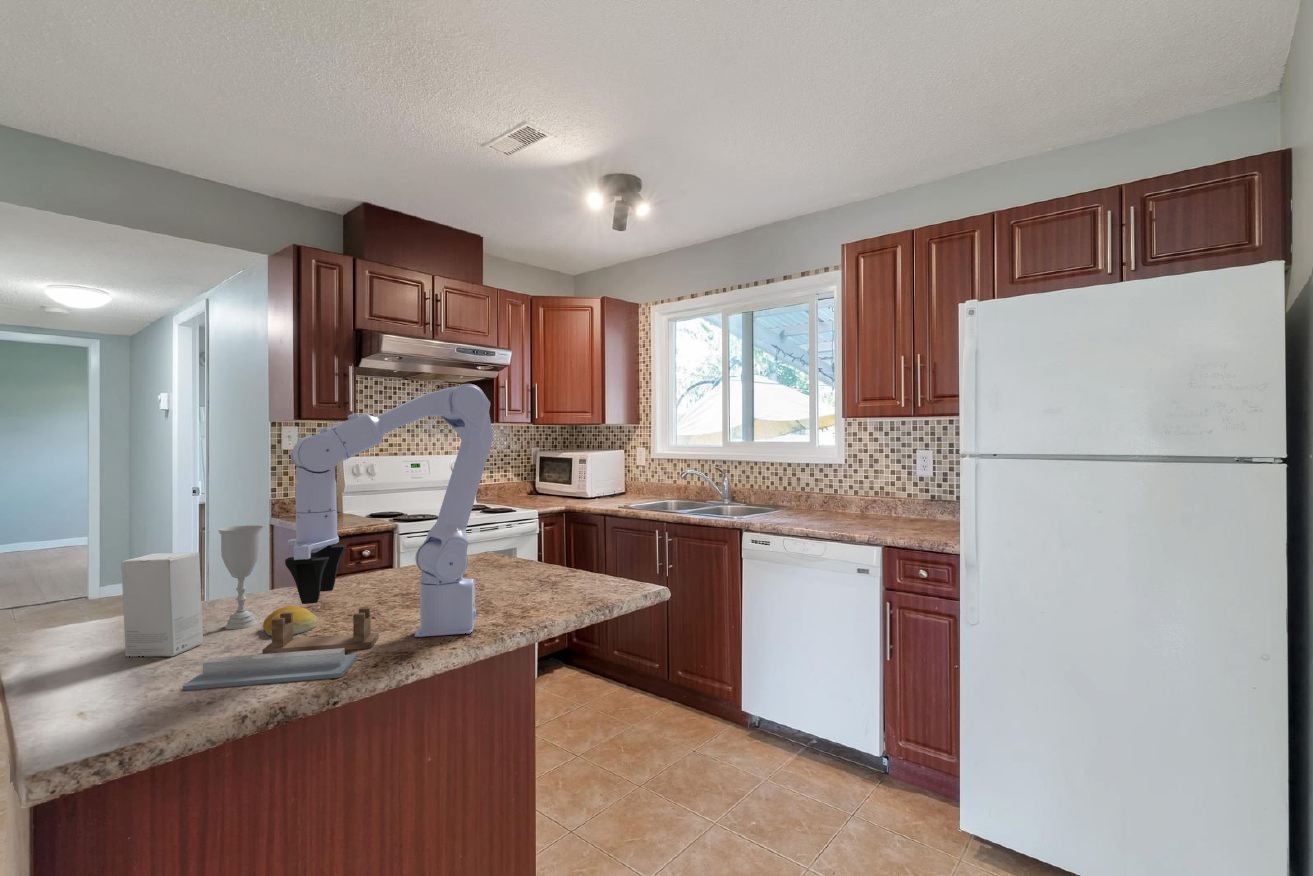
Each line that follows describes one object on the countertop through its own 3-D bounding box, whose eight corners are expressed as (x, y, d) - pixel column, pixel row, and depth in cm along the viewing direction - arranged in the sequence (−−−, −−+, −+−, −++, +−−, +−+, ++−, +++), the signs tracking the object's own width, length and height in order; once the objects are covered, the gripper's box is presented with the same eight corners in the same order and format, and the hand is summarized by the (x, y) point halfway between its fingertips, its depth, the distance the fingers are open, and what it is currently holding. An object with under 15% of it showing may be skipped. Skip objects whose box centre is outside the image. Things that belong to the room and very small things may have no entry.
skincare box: (204, 644, 102) (203, 551, 102) (170, 658, 96) (169, 559, 96) (156, 644, 103) (156, 551, 103) (120, 658, 96) (119, 559, 96)
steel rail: (344, 661, 92) (344, 648, 92) (340, 666, 90) (340, 652, 90) (209, 671, 88) (209, 658, 88) (202, 677, 86) (202, 662, 86)
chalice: (209, 628, 111) (208, 529, 111) (246, 618, 118) (245, 524, 118) (235, 632, 109) (235, 531, 109) (272, 621, 115) (271, 526, 115)
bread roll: (268, 641, 104) (268, 618, 104) (260, 629, 111) (260, 607, 111) (322, 631, 110) (322, 608, 110) (311, 620, 117) (311, 599, 117)
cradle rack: (378, 638, 104) (378, 606, 105) (371, 648, 100) (371, 614, 100) (275, 645, 101) (275, 612, 101) (262, 656, 96) (262, 621, 96)
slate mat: (357, 658, 95) (357, 654, 95) (341, 677, 87) (341, 673, 87) (212, 669, 91) (212, 665, 91) (182, 690, 83) (182, 686, 83)
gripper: (304, 507, 103) (306, 587, 103) (270, 517, 89) (271, 611, 89) (350, 505, 104) (351, 584, 104) (323, 515, 90) (324, 607, 90)
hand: (318, 596), depth 97 cm, fingers open, 7 cm apart
